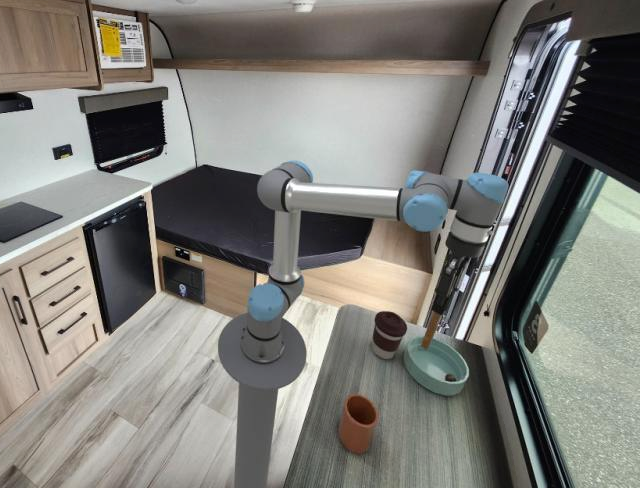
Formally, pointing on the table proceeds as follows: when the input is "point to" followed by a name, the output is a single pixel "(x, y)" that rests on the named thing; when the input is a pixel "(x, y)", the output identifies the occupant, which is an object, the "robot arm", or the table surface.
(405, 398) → the table surface
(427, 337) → the stick
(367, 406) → the crock
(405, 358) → the bowl
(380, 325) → the coffee cup
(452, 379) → the bead
